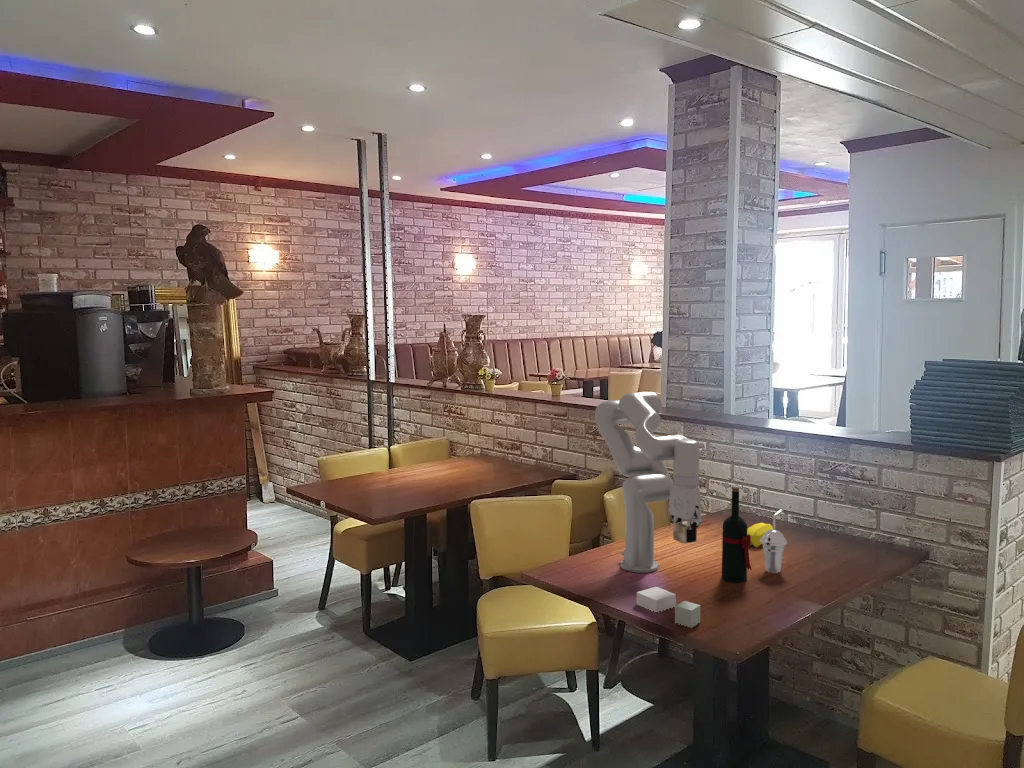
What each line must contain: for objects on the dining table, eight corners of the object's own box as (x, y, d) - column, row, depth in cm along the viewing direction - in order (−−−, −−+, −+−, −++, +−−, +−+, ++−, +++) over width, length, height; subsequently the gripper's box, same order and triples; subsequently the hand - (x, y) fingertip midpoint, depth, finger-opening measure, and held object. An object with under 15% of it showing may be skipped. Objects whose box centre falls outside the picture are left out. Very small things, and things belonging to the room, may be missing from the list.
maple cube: (673, 539, 228) (673, 523, 227) (686, 536, 230) (686, 521, 229) (683, 543, 223) (684, 527, 223) (696, 541, 225) (697, 525, 225)
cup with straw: (754, 567, 250) (755, 509, 248) (778, 565, 252) (779, 507, 250) (769, 576, 241) (770, 515, 240) (793, 573, 244) (794, 513, 242)
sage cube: (674, 623, 205) (675, 605, 205) (684, 617, 209) (684, 600, 208) (691, 628, 202) (691, 610, 201) (700, 622, 205) (700, 605, 205)
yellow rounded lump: (737, 546, 275) (757, 550, 269) (737, 528, 274) (757, 532, 269) (759, 535, 287) (778, 539, 282) (759, 518, 287) (779, 522, 282)
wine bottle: (742, 587, 232) (743, 492, 229) (716, 578, 240) (717, 486, 238) (758, 582, 236) (759, 489, 234) (732, 573, 245) (733, 483, 242)
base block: (636, 605, 219) (636, 592, 219) (656, 599, 223) (656, 586, 223) (656, 614, 212) (656, 600, 212) (675, 607, 217) (675, 594, 216)
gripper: (658, 476, 231) (657, 533, 232) (695, 487, 215) (693, 548, 217) (677, 473, 234) (676, 530, 236) (715, 484, 219) (713, 545, 220)
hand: (685, 538), depth 226 cm, fingers closed on maple cube, 4 cm apart
